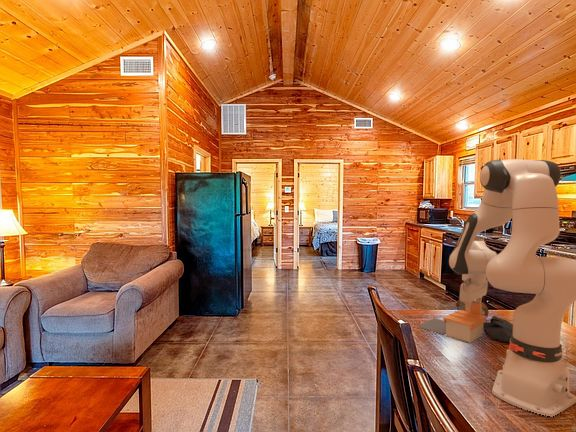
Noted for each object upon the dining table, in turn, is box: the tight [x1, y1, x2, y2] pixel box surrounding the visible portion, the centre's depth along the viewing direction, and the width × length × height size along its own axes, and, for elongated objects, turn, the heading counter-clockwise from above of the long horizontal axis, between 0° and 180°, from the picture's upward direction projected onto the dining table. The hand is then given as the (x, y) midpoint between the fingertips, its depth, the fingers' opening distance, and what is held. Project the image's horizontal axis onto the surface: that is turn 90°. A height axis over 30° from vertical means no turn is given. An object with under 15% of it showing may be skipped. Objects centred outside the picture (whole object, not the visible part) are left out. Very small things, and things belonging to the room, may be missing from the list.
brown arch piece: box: [456, 298, 489, 319], centre depth 153 cm, size 15×3×8 cm, turn 25°
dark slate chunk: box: [483, 315, 513, 344], centre depth 132 cm, size 15×22×5 cm
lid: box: [442, 302, 487, 331], centre depth 131 cm, size 17×11×6 cm, turn 129°
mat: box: [419, 317, 446, 336], centre depth 141 cm, size 16×12×1 cm
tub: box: [445, 320, 484, 344], centre depth 131 cm, size 14×9×7 cm, turn 129°
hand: (473, 308), depth 136 cm, fingers open, 8 cm apart
